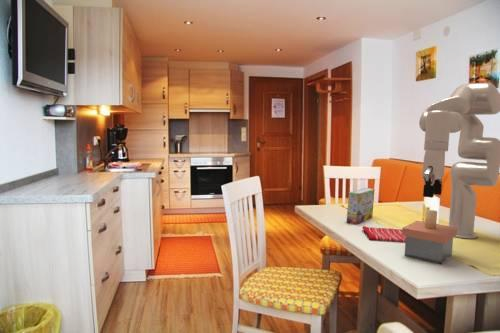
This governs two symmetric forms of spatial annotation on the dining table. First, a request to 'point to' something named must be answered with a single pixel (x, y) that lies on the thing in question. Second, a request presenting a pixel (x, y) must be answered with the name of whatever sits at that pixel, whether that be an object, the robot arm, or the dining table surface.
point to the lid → (430, 229)
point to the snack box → (360, 205)
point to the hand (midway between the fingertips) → (432, 195)
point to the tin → (428, 250)
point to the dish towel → (384, 234)
